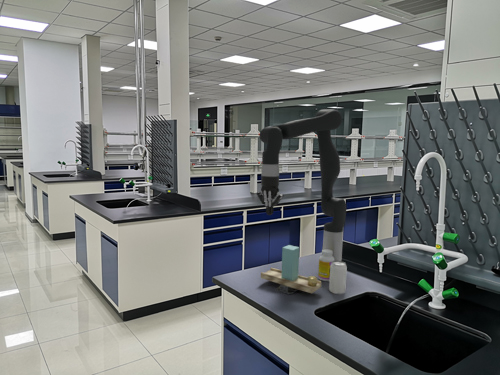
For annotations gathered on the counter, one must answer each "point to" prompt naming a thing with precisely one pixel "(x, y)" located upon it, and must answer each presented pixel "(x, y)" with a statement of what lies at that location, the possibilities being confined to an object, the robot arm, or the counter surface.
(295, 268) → the block
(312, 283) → the counterweight
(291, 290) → the fulcrum
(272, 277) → the beam
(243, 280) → the counter surface
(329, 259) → the supplement bottle
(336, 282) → the can
